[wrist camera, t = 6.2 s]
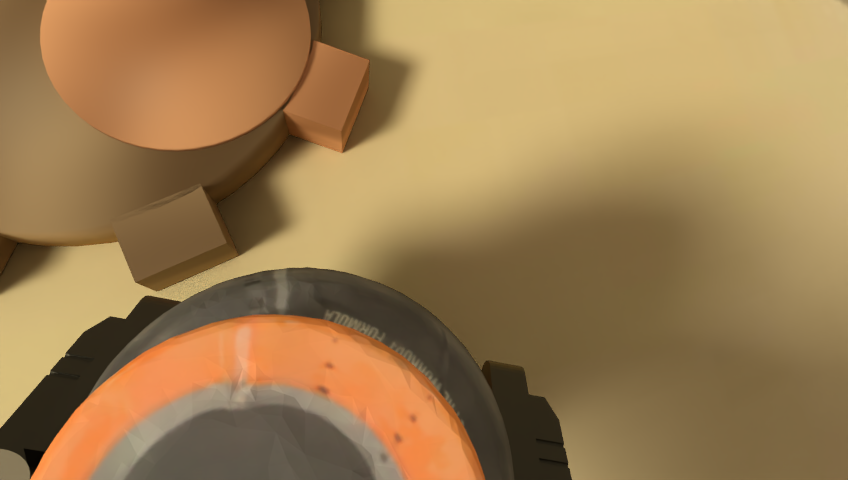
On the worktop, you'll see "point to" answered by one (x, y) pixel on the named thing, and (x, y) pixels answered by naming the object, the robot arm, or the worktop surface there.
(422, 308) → the pill bottle
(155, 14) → the sprocket
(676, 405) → the worktop surface
